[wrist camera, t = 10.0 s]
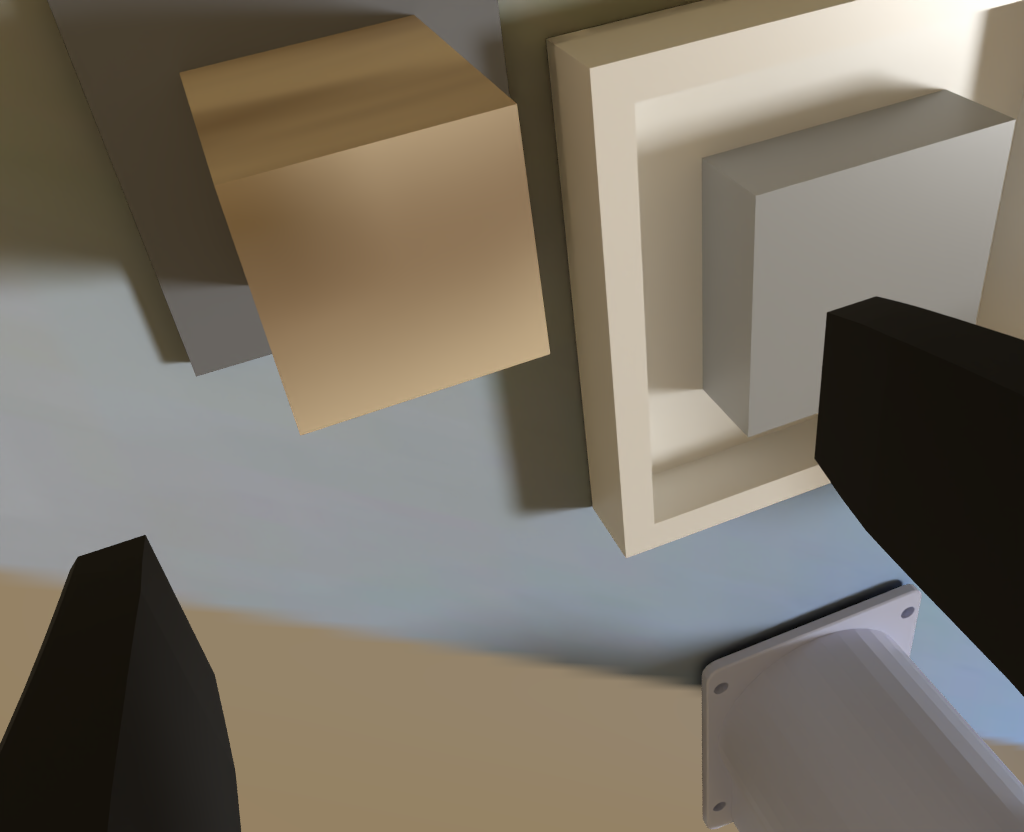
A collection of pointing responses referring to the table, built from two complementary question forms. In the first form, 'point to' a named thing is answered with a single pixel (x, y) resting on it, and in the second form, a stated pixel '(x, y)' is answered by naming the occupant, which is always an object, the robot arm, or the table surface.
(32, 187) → the table surface
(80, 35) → the rubber mat
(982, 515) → the robot arm
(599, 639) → the table surface
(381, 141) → the maple block
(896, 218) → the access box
